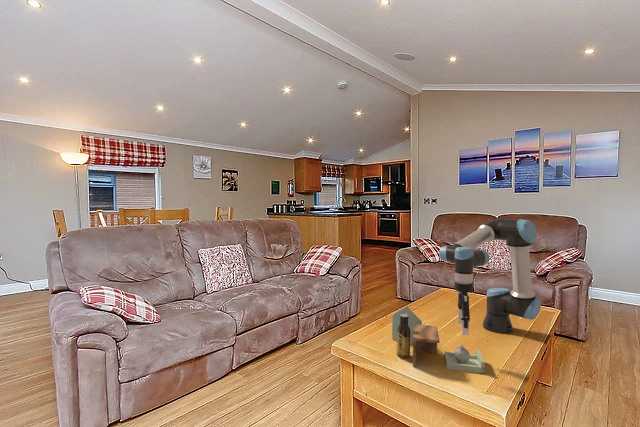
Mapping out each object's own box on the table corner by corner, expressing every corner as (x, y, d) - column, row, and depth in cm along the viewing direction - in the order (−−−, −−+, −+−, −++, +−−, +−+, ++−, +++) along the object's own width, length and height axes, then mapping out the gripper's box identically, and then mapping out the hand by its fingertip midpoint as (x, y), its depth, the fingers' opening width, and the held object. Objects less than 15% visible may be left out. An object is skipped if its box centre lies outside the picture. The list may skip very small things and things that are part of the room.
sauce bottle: (394, 353, 160) (395, 312, 159) (407, 352, 161) (407, 312, 160) (399, 359, 154) (399, 317, 153) (412, 359, 154) (412, 317, 153)
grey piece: (427, 343, 171) (427, 305, 171) (421, 348, 165) (421, 309, 165) (398, 334, 182) (398, 299, 181) (391, 339, 176) (392, 303, 175)
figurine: (472, 361, 150) (472, 344, 149) (467, 367, 145) (467, 349, 144) (457, 356, 154) (457, 339, 154) (451, 362, 149) (452, 344, 149)
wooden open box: (436, 353, 160) (437, 326, 160) (439, 370, 144) (439, 340, 143) (413, 350, 163) (413, 323, 163) (412, 366, 147) (413, 337, 146)
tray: (479, 360, 152) (479, 349, 152) (484, 373, 141) (484, 362, 141) (444, 356, 157) (444, 345, 156) (446, 368, 145) (447, 357, 145)
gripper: (451, 275, 161) (451, 318, 161) (458, 288, 137) (457, 339, 137) (468, 276, 158) (468, 319, 159) (477, 289, 134) (477, 341, 135)
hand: (463, 328), depth 148 cm, fingers open, 13 cm apart
